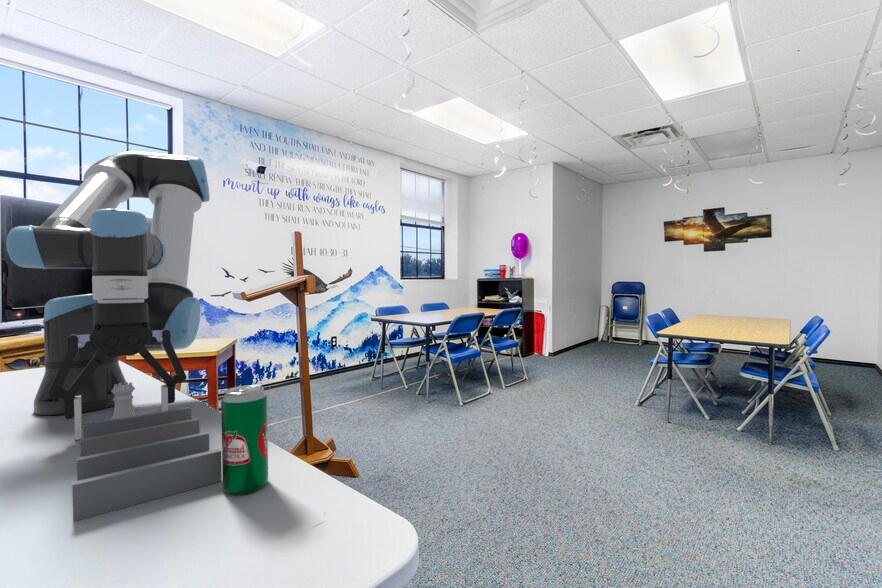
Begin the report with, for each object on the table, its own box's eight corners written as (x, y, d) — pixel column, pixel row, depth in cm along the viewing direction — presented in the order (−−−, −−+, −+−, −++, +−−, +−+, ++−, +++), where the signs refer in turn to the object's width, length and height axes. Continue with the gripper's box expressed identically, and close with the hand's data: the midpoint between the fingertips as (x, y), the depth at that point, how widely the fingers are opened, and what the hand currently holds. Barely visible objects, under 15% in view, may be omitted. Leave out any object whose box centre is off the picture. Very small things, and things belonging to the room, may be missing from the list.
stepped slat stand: (84, 448, 63) (83, 424, 63) (190, 428, 71) (190, 406, 71) (73, 521, 43) (72, 485, 43) (221, 480, 52) (221, 451, 52)
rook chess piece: (119, 426, 73) (118, 381, 73) (146, 425, 73) (145, 380, 73) (100, 435, 68) (99, 387, 68) (129, 434, 69) (128, 386, 69)
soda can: (212, 492, 49) (211, 392, 49) (247, 474, 54) (245, 382, 54) (244, 500, 47) (242, 396, 47) (277, 481, 52) (276, 386, 52)
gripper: (20, 304, 60) (24, 453, 60) (203, 300, 75) (205, 420, 75) (28, 302, 66) (31, 439, 66) (196, 299, 81) (198, 410, 81)
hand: (124, 429), depth 71 cm, fingers open, 11 cm apart
